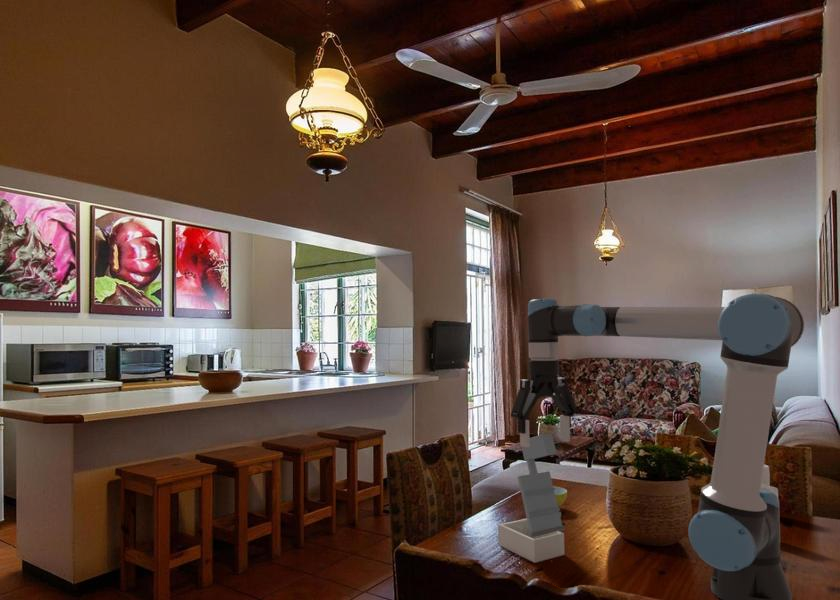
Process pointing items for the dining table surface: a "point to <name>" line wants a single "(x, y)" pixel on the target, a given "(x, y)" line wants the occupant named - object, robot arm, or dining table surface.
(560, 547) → the tub
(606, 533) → the dining table surface
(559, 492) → the bowl
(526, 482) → the grey stepped piece
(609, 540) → the dining table surface
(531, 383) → the robot arm
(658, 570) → the dining table surface
